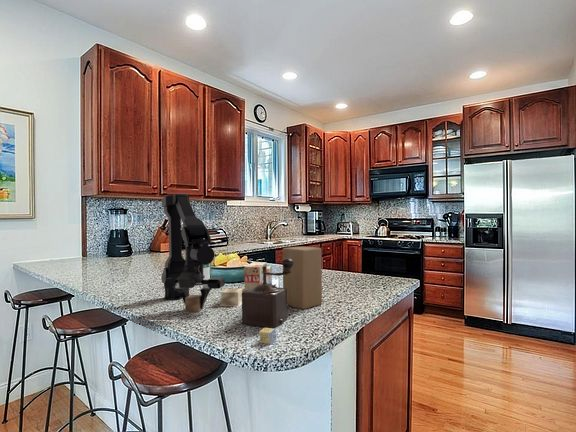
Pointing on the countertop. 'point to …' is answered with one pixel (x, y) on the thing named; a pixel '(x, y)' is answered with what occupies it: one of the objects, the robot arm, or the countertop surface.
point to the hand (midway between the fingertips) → (194, 308)
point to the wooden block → (303, 277)
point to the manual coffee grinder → (266, 302)
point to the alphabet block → (267, 335)
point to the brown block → (193, 303)
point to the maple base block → (231, 297)
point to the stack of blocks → (255, 275)
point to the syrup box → (207, 271)
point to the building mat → (231, 305)
